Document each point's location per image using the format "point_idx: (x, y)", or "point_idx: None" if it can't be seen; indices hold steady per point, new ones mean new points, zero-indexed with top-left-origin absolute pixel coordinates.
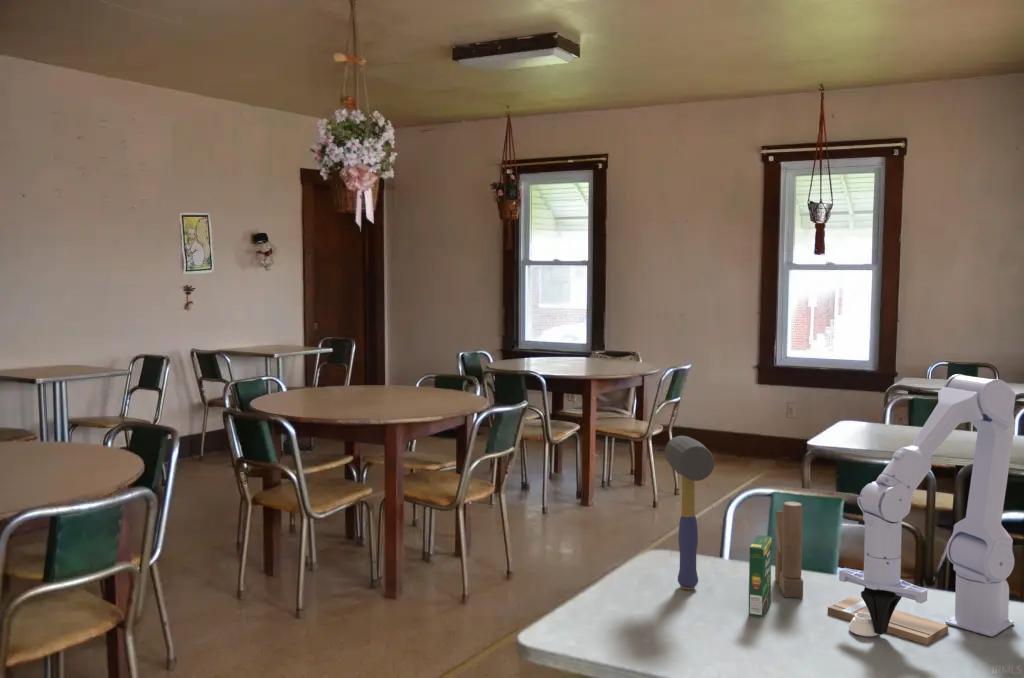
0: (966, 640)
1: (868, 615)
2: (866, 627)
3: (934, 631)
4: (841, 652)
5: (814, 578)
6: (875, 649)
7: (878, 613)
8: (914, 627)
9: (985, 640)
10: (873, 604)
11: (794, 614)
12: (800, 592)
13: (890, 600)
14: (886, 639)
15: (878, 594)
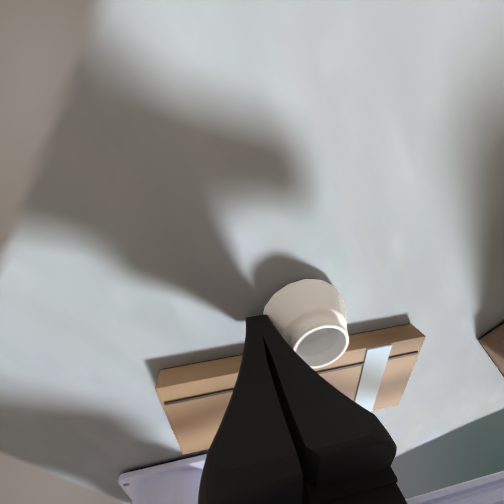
0: (135, 437)
1: (316, 361)
2: (289, 310)
3: (174, 420)
4: (268, 118)
5: (471, 408)
6: (213, 245)
7: (262, 372)
8: (217, 403)
9: (117, 459)
10: (293, 403)
11: (479, 258)
12: (498, 346)
13: (198, 497)
14: (239, 321)
15: (292, 498)
